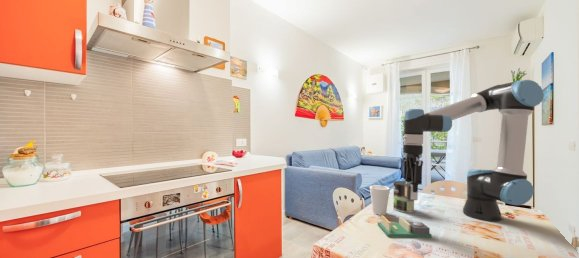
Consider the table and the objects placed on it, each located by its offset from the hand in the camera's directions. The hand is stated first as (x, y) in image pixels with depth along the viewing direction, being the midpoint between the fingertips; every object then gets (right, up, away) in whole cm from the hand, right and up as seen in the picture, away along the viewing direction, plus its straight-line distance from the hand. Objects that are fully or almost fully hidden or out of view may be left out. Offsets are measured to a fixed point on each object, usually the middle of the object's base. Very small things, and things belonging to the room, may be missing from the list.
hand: (411, 197), depth 108 cm
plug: (0, 0, 0) cm, 1 cm away
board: (-6, -13, -4) cm, 15 cm away
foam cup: (-7, -13, +18) cm, 23 cm away
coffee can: (+8, -13, +24) cm, 28 cm away
